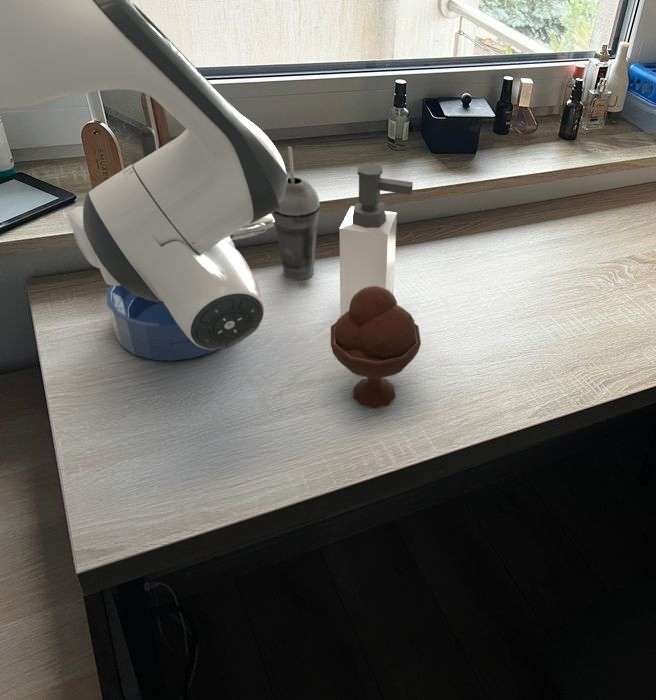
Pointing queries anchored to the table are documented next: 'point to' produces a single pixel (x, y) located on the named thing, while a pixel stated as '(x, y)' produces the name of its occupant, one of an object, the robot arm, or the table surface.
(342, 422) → the table surface
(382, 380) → the ice cream bowl
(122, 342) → the mixing bowl
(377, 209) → the soap dispenser
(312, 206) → the beverage cup
